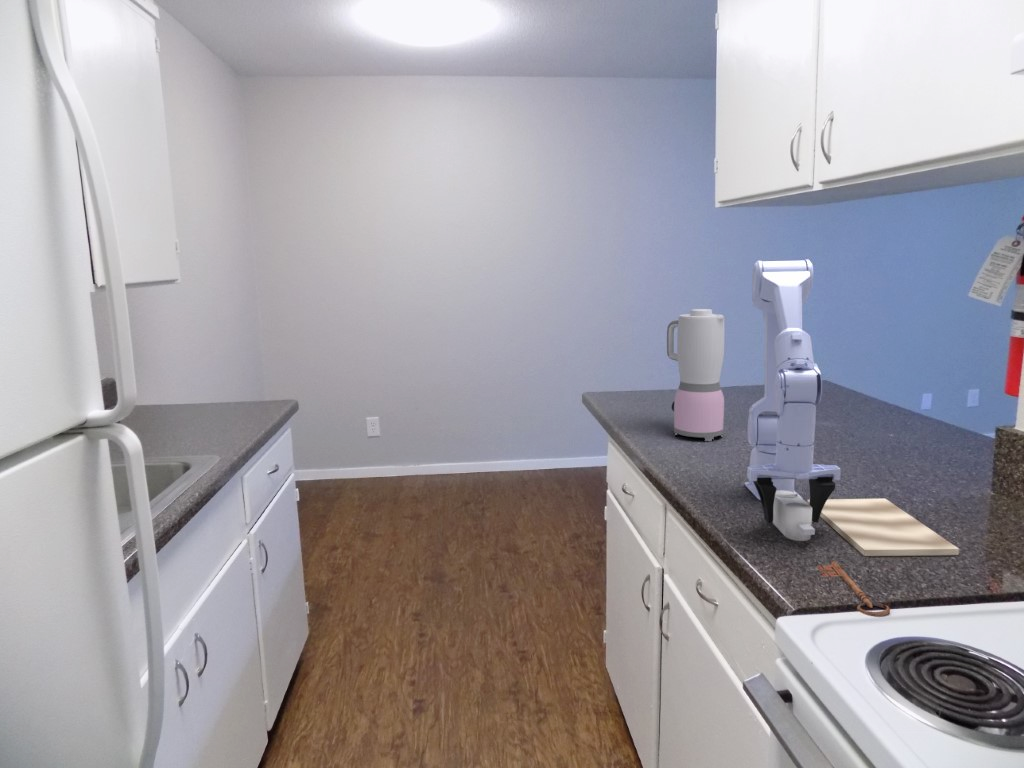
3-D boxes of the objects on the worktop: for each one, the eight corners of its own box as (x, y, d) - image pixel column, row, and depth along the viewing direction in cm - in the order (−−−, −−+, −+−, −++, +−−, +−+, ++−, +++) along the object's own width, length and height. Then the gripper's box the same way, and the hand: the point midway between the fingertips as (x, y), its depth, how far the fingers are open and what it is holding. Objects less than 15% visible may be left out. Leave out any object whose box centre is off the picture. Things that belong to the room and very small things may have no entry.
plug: (768, 517, 120) (769, 490, 119) (791, 517, 120) (792, 490, 119) (795, 547, 108) (796, 517, 107) (821, 547, 108) (822, 516, 107)
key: (807, 568, 102) (847, 620, 88) (806, 562, 102) (846, 613, 87) (847, 565, 102) (894, 617, 87) (847, 560, 101) (894, 610, 87)
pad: (806, 504, 126) (807, 499, 126) (884, 503, 125) (885, 498, 125) (864, 556, 104) (864, 549, 104) (958, 555, 104) (959, 548, 104)
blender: (732, 435, 175) (737, 309, 169) (708, 445, 166) (712, 312, 161) (678, 425, 186) (680, 306, 180) (653, 434, 178) (654, 310, 172)
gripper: (758, 449, 109) (754, 530, 111) (851, 447, 108) (845, 529, 111) (744, 437, 116) (741, 514, 118) (831, 436, 115) (827, 513, 118)
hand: (791, 520), depth 115 cm, fingers open, 7 cm apart
